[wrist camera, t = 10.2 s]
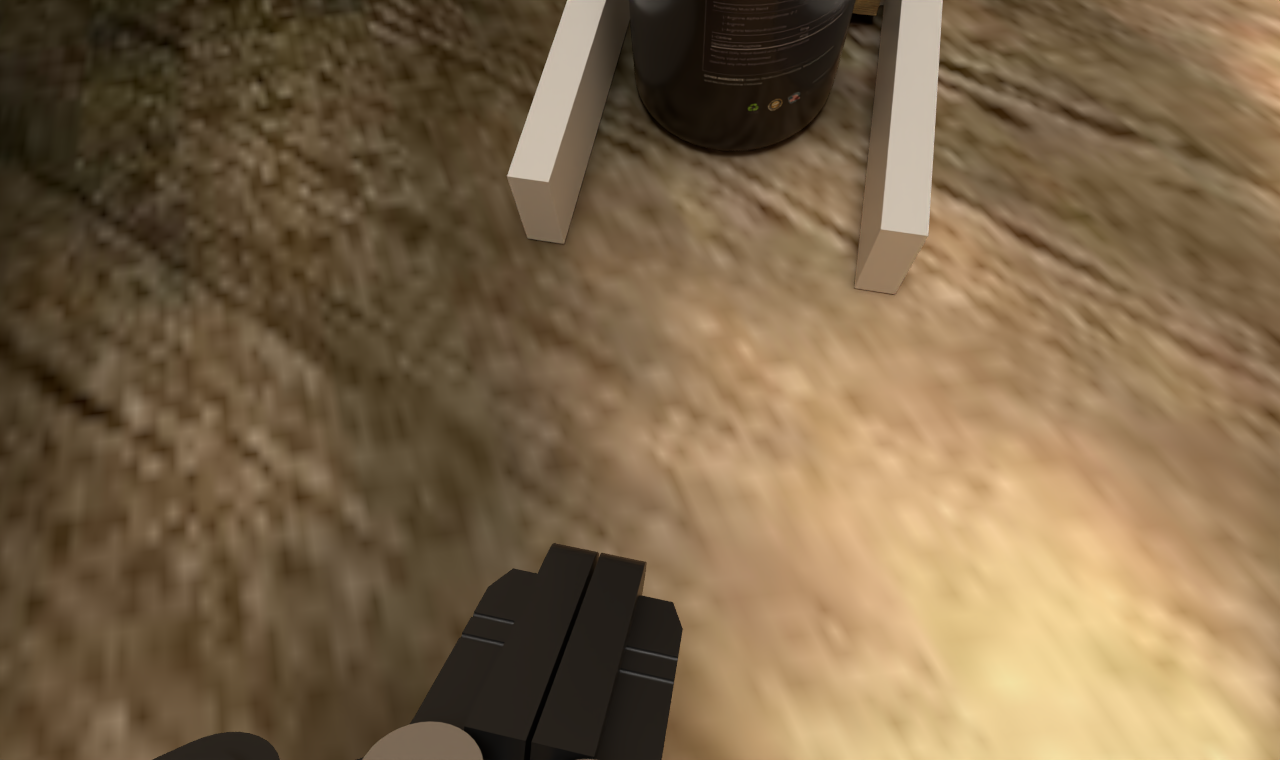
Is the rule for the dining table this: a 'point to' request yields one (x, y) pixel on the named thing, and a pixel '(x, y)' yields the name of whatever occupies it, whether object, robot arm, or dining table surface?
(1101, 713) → the dining table surface
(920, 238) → the holder
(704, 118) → the supplement bottle
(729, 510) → the dining table surface
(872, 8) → the catch plate
